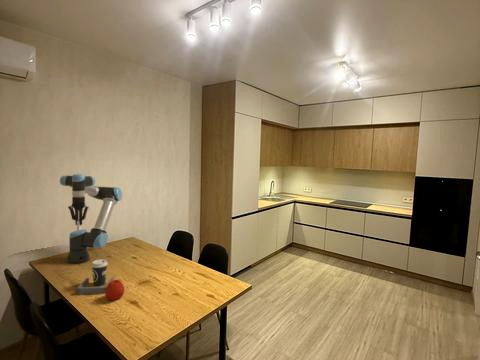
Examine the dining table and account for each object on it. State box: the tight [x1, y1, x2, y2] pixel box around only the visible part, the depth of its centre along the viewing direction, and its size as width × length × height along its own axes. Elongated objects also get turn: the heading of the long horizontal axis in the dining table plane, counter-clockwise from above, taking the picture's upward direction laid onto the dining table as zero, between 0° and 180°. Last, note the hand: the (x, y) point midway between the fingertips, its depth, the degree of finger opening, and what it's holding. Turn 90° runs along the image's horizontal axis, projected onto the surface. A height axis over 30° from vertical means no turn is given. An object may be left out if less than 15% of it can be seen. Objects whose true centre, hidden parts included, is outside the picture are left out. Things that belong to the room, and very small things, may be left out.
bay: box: [76, 276, 115, 295], centre depth 164 cm, size 14×16×4 cm
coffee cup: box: [90, 258, 109, 287], centre depth 169 cm, size 10×10×15 cm
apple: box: [104, 279, 125, 301], centre depth 154 cm, size 10×10×10 cm
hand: (78, 229), depth 184 cm, fingers closed
